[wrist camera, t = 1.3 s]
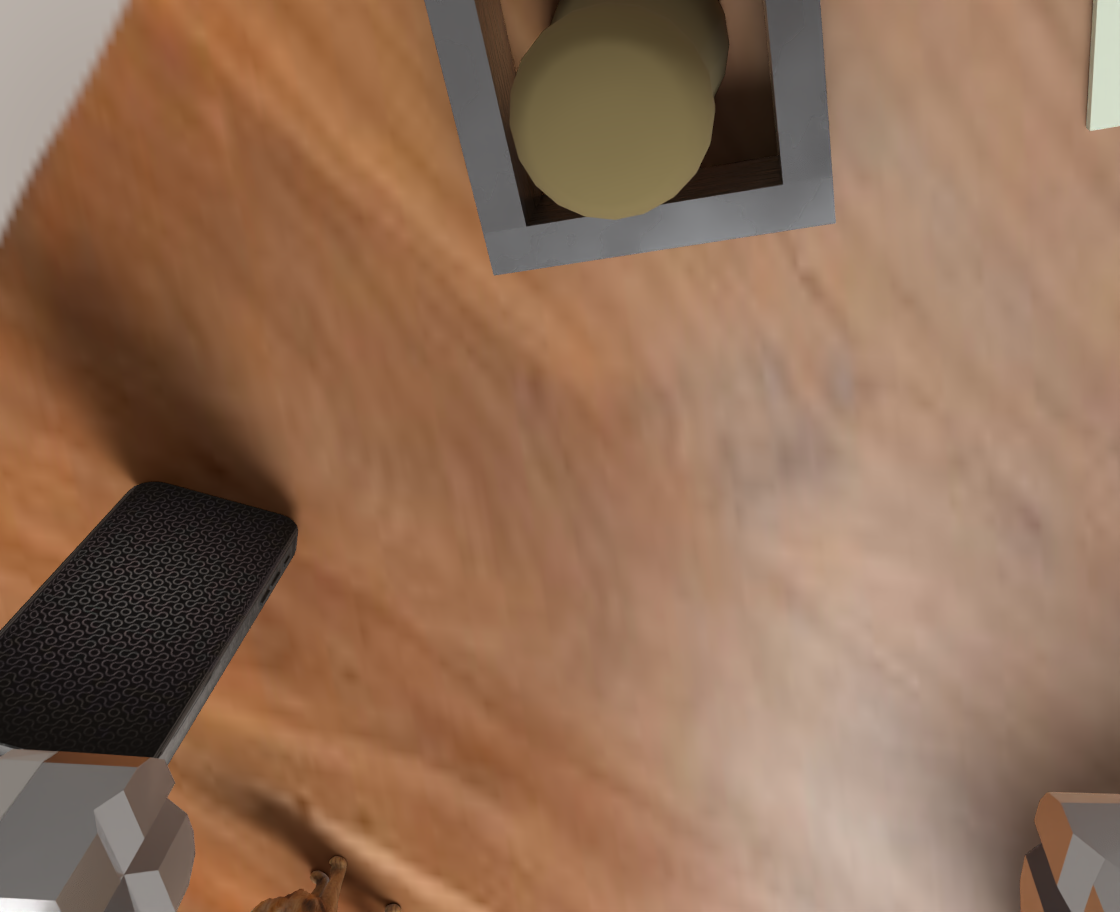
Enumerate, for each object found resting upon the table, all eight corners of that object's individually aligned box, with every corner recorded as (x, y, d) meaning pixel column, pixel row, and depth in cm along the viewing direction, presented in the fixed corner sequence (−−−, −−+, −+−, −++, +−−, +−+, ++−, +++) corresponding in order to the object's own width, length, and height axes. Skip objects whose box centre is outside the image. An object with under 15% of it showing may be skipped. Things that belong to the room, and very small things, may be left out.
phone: (141, 495, 46) (-79, 742, 33) (141, 476, 45) (-83, 720, 33) (305, 540, 46) (148, 803, 33) (308, 521, 45) (148, 782, 33)
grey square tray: (797, -192, 29) (805, -197, 26) (825, 190, 34) (835, 223, 31) (430, -102, 31) (399, -97, 28) (511, 241, 37) (493, 275, 34)
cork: (569, -72, 31) (506, -38, 22) (753, -24, 31) (768, 31, 22) (531, 118, 34) (462, 218, 25) (698, 162, 35) (690, 279, 25)
